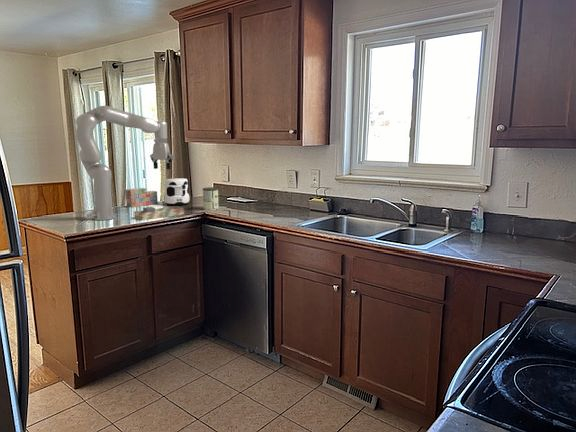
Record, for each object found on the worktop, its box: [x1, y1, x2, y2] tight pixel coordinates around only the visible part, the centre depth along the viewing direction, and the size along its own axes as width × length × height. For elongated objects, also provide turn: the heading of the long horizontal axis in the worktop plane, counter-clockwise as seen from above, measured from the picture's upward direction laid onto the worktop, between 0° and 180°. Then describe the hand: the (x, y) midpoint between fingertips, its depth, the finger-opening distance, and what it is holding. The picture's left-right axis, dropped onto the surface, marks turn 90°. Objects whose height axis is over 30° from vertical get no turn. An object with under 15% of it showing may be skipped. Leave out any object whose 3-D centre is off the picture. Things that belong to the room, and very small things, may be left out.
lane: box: [133, 205, 185, 221], centre depth 265 cm, size 28×10×4 cm, turn 136°
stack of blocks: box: [125, 187, 159, 209], centre depth 305 cm, size 21×6×12 cm, turn 143°
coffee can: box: [202, 186, 220, 211], centre depth 291 cm, size 10×10×14 cm
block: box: [142, 206, 156, 213], centre depth 260 cm, size 5×5×4 cm
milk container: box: [163, 177, 190, 206], centre depth 310 cm, size 17×17×18 cm
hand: (162, 168), depth 276 cm, fingers open, 9 cm apart
